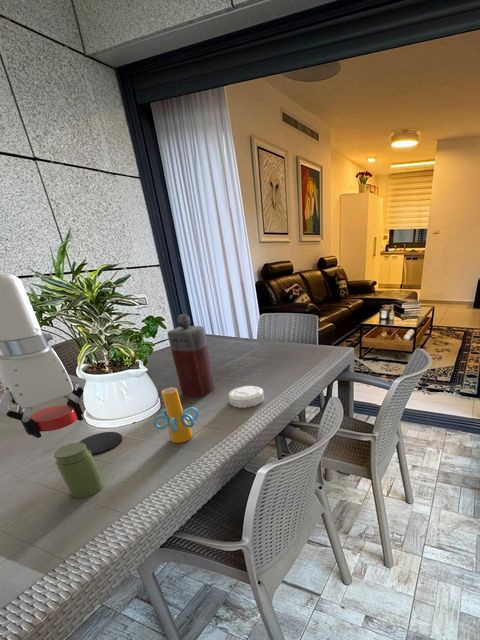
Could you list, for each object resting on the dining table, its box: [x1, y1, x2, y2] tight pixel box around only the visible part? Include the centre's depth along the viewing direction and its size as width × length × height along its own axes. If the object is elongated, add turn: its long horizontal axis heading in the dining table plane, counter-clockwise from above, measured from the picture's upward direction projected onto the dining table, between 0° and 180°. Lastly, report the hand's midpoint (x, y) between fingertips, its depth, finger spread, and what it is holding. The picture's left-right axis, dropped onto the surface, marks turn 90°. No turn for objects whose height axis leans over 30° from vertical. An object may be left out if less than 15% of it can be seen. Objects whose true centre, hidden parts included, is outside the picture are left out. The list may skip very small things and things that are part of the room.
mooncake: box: [227, 385, 265, 409], centre depth 122 cm, size 12×12×4 cm
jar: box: [53, 442, 105, 499], centre depth 80 cm, size 7×7×11 cm
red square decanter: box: [167, 314, 217, 398], centre depth 125 cm, size 9×11×28 cm
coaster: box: [78, 431, 123, 456], centre depth 100 cm, size 12×12×1 cm
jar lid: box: [30, 404, 78, 433], centre depth 73 cm, size 8×8×2 cm
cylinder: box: [152, 387, 200, 444], centre depth 98 cm, size 12×10×15 cm
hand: (58, 426), depth 75 cm, fingers closed on jar lid, 7 cm apart
